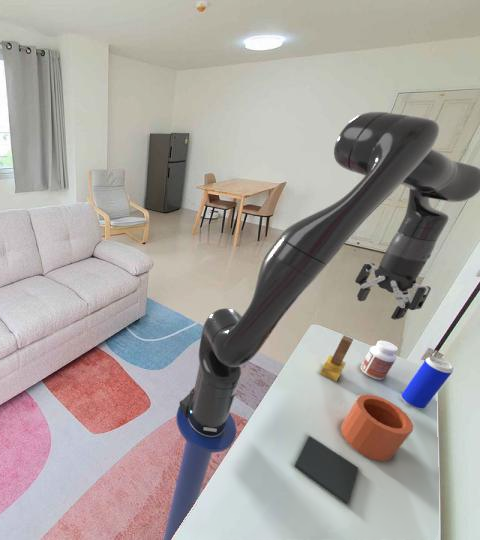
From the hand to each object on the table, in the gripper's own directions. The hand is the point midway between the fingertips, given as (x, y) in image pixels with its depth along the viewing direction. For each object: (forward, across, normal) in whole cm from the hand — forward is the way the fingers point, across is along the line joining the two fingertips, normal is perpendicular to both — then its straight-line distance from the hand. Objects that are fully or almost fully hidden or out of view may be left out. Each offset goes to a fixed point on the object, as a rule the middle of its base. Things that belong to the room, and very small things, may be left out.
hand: (377, 309), depth 77 cm
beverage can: (+26, +12, +13) cm, 31 cm away
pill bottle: (+26, +1, +13) cm, 29 cm away
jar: (+26, +16, -12) cm, 33 cm away
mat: (+26, +18, -28) cm, 42 cm away
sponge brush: (+26, -2, -1) cm, 26 cm away
